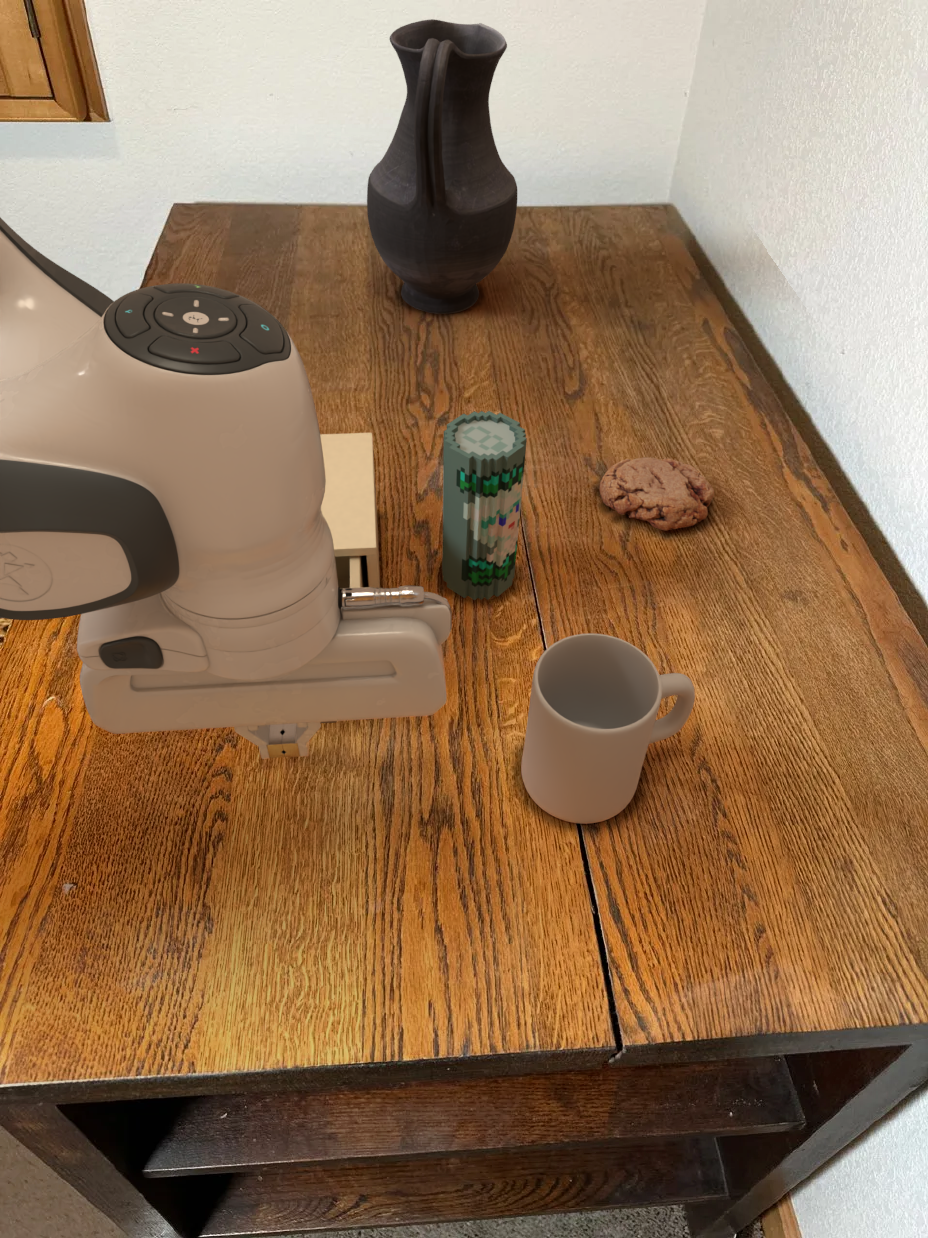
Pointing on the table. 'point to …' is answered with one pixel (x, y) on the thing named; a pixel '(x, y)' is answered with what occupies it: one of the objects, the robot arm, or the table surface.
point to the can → (481, 502)
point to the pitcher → (443, 169)
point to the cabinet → (352, 499)
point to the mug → (595, 725)
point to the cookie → (657, 492)
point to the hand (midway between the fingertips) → (286, 748)
